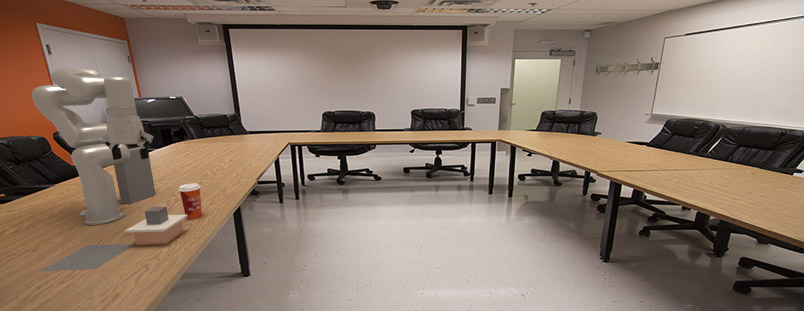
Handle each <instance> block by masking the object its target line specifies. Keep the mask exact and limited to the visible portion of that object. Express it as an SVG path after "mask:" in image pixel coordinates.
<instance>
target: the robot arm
mask: <svg viewBox="0 0 804 311" xmlns="http://www.w3.org/2000/svg"><path fill="white" fill-rule="evenodd" d="M50 80H51V82H52V83H53V84H46V85H40V86H37V87H35V88H34V89H33V90H32V92H31V99H32V101H33V104H34V105H35V107H36V109H37V110H38V111H39V112H40V114H42V115H43V116H44V118H46V119H47V120H49V121H50V122H51V123H52V124H53V125H54V127H55V129H56V130H57V132H58V133H59V135H60V136H61V137H62V139H63V141H65V142H66V144H67V145H68V146H69V147H71V148H74V150H73V151H72V153H71V160H72V162H73V163H74V166H75V168H76V170H77V173H78V176H79V180H80V184H81V189H82V192H83V197H84V202H85V207H86V209H83V210H81V212H79V217H85V219H84V221H83V222H84V225H87V226H95V225H96V226H97V225H99V226H100V225H104V224H108V223H113V222H115V221H118V220H120V219H122V218H124V217H125V215H126V213H125V212H124V211H121V210H120V209H119V208H120V207H119V204H118V198H117V192H116V186H115V182H114V179H113V176H112V174H111V173H110V172H108V171H107V170H105V169H104V168H106V167H110V166H114V165H117V164H122V163H125V162H127V161H128V160H129V158H130V152H129V150H128V149H129V148H128V147H127V145H137V146H138V147H141V149H140V155H141V159H147V158H150V152H149V148H150V146H151V145H152V143H153V140H154V136H153V135H152V134H149V133H147V132H145V130H144V126H143V123H142V121H141V117H140V116H139V115H138V113H137V107H136V102H135V97H134V95H135V94H134V89H133V83H132V81H131V79H130V78H128V77H123V76H120V77H117V76H102V74H101V73H99V72H98V71H97V70H96V69H93V68H87V67H85V68H82V67H59V68H56V69H54V70H53V71H52V72H51V74H50ZM96 99H106V103H107V107H108V108H107V109H106V110H105V111H106V112H105V113H107V114H109V116H107V119H106V123H104V122H96V123H88V122H87V123H86V122H85V121H84V120H83V118H82V117H81V115H79V114H78V113H76V112H75V111H73V110H72V109H69V108H67V107H68V106H69V107H72V106H74V107H75V106H89V105H91V104H93V103H94V101H95V100H96ZM66 106H67V107H66Z"/></svg>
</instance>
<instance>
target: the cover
mask: <svg viewBox="0 0 804 311" xmlns="http://www.w3.org/2000/svg"><path fill="white" fill-rule="evenodd" d="M168 213H169V212H168V206H152V207H150V208H148V209H146V210H145V211H144V216H145V218H144V219H143V220H141V221H139V222H137V223H135V224H134V225H132V226H131V227H129V228H127V229H125V230H124V233H129V234H130V233H134V232H164V231H167V230H168V229H170V228H171V227H173V226H174V225H176V224H177V223H179V222H180V221H182V222H183V221H184V220H185V219H186V217H188V215H185V214H168Z"/></svg>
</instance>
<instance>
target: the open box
mask: <svg viewBox="0 0 804 311" xmlns="http://www.w3.org/2000/svg"><path fill="white" fill-rule="evenodd" d="M183 226H184V224H183V220H182V221H180V222H179V223H177V224H176V225H174V226H173V227H171V228H170V229H168V230H167V231H164V232H133V234H134V235H133V236H134V240H135V245H136V246H148V245H149V246H150V245H167V244H168V243H170V242H172V240H174V239H176V238H177V237H178V236H180V235H182V233H184V231H185V230H184V227H183Z"/></svg>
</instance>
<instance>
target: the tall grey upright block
mask: <svg viewBox="0 0 804 311" xmlns="http://www.w3.org/2000/svg"><path fill="white" fill-rule="evenodd" d="M140 149H141V147H140V146H138V147H133V148H128V150H129V152H130V158H129V160H128V161H127V162H125V163H122V164H117V165H113V167H114V173H115V178H116V183H117V188H118V193H119V198H120V199H119V204H129V205H131V204H133V203H135V202H138V201H139V202H140V201H142V200H144V199H146V198H149V197H152V196H155V195H157V192H156V189H155V182H154V177H153V172H152V171H153V170H152V165H151V160H150V157H149V158H147V159H141V155H140Z"/></svg>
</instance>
